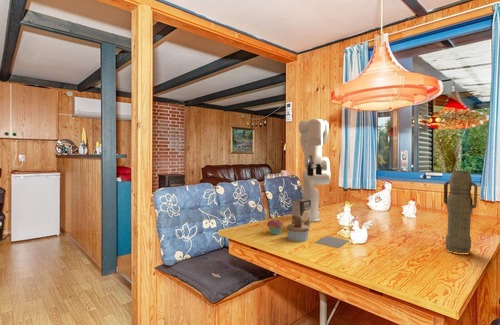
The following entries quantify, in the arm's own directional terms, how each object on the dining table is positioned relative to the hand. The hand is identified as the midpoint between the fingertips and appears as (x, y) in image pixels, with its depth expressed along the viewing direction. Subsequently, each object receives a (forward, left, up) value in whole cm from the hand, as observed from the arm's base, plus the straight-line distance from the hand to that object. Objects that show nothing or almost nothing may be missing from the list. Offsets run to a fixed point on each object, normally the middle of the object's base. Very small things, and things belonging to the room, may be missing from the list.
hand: (314, 175), depth 153 cm
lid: (+17, 0, -25) cm, 30 cm away
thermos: (-13, +62, -31) cm, 70 cm away
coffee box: (-1, -8, -31) cm, 32 cm away
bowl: (+17, 0, -30) cm, 35 cm away
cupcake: (+16, -14, -31) cm, 37 cm away
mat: (+11, +15, -30) cm, 36 cm away
